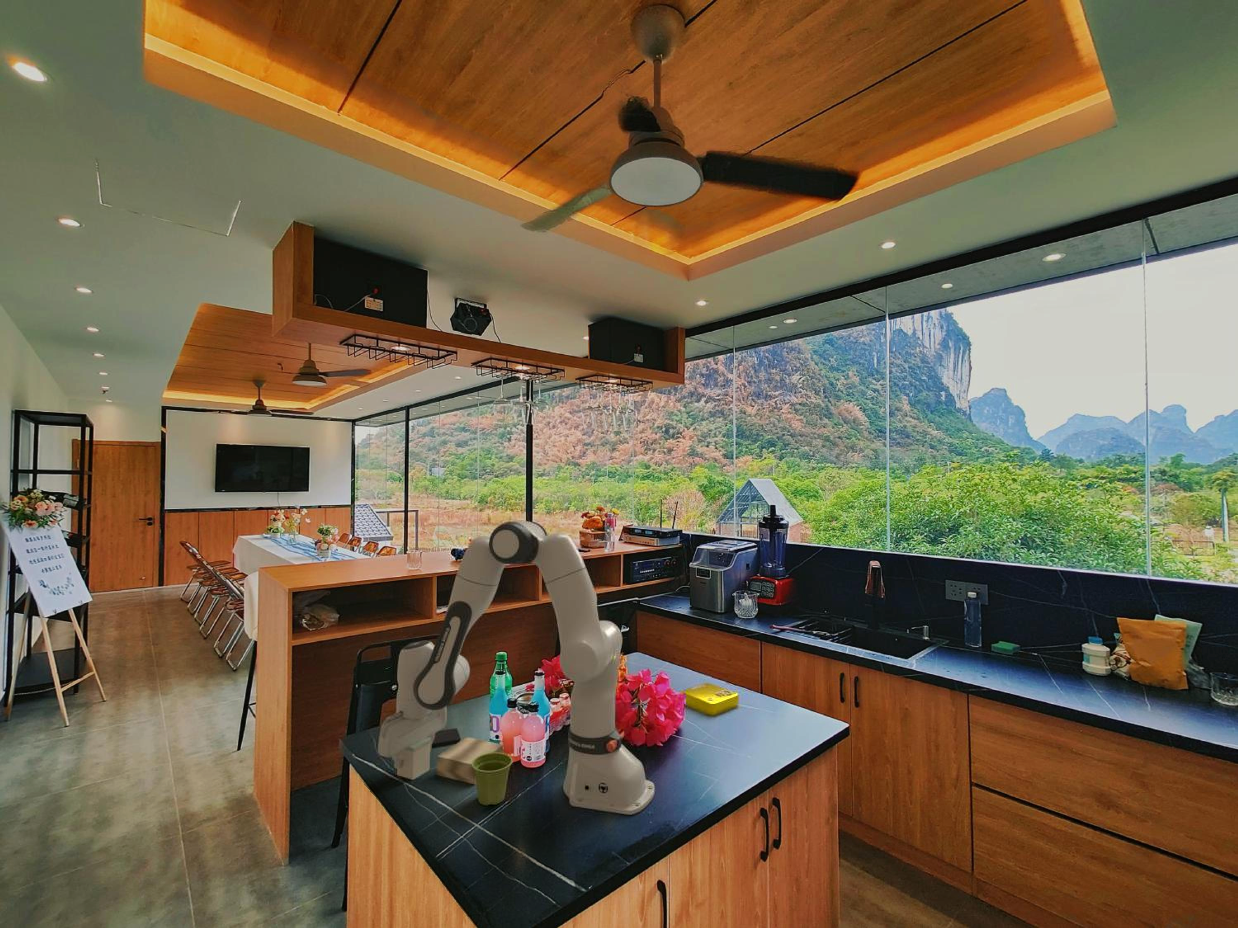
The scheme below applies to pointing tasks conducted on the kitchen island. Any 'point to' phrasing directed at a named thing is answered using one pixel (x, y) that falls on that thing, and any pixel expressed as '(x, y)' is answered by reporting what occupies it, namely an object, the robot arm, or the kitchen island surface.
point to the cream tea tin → (415, 759)
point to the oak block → (464, 758)
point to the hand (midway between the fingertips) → (413, 759)
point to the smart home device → (446, 738)
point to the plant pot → (491, 776)
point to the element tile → (710, 699)
